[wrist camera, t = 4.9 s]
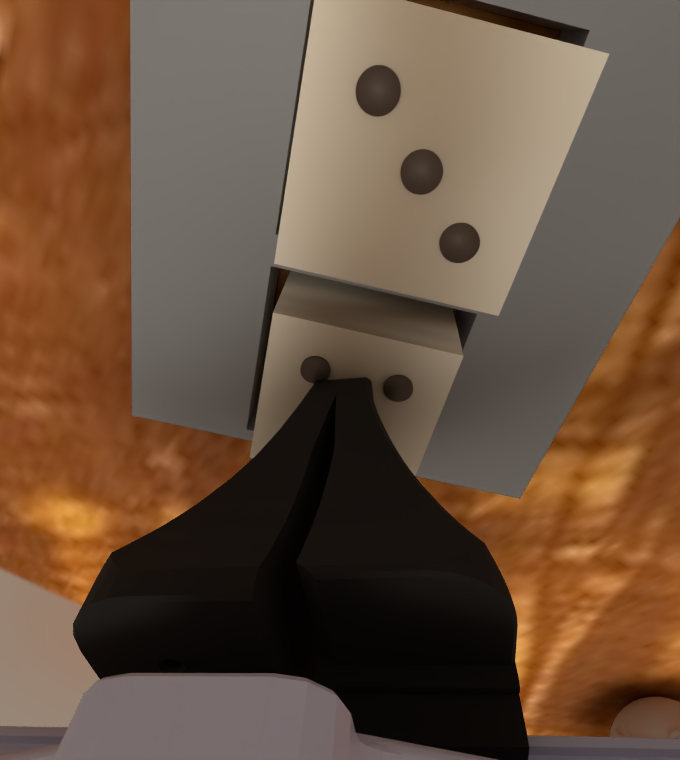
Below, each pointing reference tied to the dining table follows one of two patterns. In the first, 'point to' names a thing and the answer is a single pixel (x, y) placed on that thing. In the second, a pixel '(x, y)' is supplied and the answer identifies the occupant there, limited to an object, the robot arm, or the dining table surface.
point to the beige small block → (427, 148)
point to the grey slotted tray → (260, 277)
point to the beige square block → (360, 357)
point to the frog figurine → (648, 719)
